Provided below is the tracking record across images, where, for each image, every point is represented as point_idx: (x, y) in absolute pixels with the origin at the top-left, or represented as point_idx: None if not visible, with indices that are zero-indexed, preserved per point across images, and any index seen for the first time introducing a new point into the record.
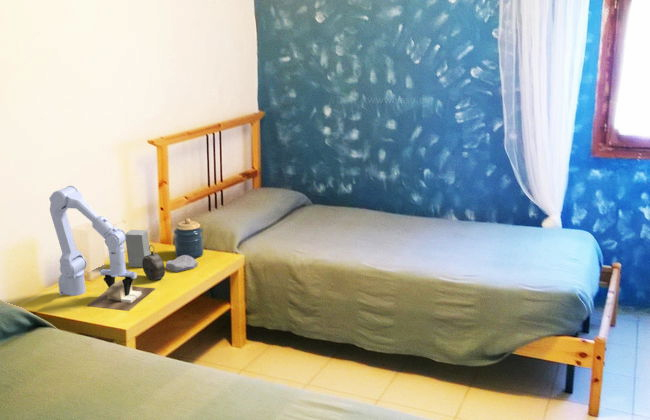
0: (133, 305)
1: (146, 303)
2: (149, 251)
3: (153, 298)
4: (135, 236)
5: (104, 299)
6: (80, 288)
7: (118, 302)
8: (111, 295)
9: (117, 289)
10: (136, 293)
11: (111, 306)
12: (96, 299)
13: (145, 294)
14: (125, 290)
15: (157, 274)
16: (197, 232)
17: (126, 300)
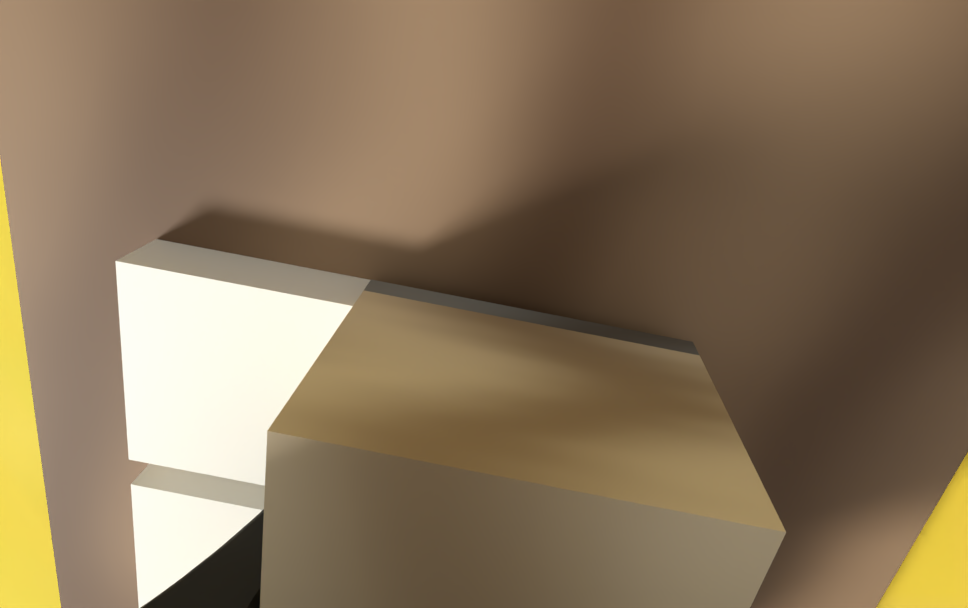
0: (32, 113)
1: (18, 356)
2: None
3: (26, 521)
4: None
5: (779, 386)
6: None
7: (425, 250)
8: (603, 377)
9: (389, 489)
10: (177, 560)
11: (508, 12)
12: (963, 380)
13: (105, 580)
14: (259, 544)
15: None
16: None
17: (232, 273)
